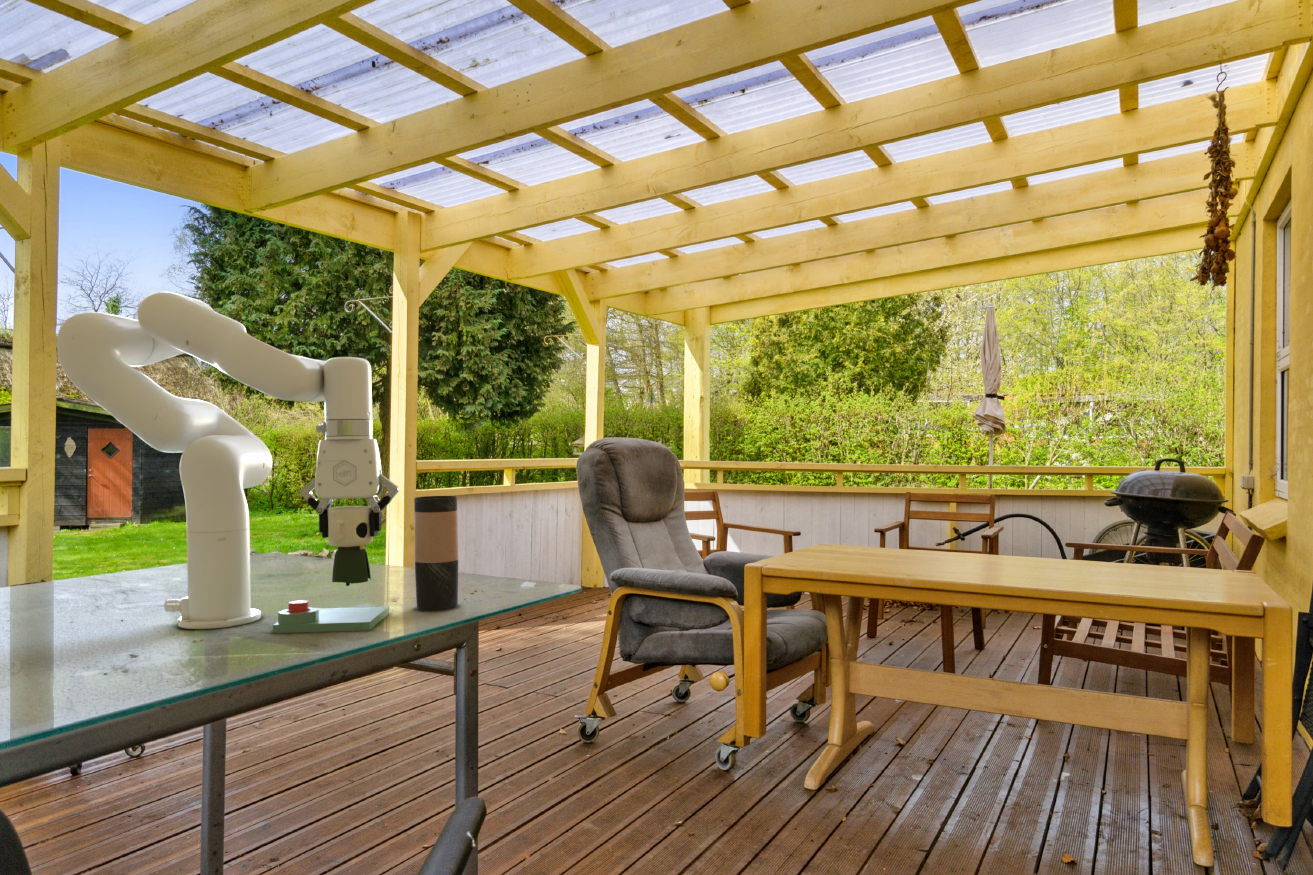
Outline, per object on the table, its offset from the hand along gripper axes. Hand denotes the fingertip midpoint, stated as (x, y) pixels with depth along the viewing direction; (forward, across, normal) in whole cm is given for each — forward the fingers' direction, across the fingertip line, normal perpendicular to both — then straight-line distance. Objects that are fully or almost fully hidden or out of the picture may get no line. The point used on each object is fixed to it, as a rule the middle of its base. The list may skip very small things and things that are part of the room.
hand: (350, 535), depth 145 cm
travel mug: (+15, +12, +10) cm, 21 cm away
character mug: (+8, 0, 0) cm, 8 cm away
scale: (+14, -3, -2) cm, 15 cm away
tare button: (+12, -7, -5) cm, 15 cm away
